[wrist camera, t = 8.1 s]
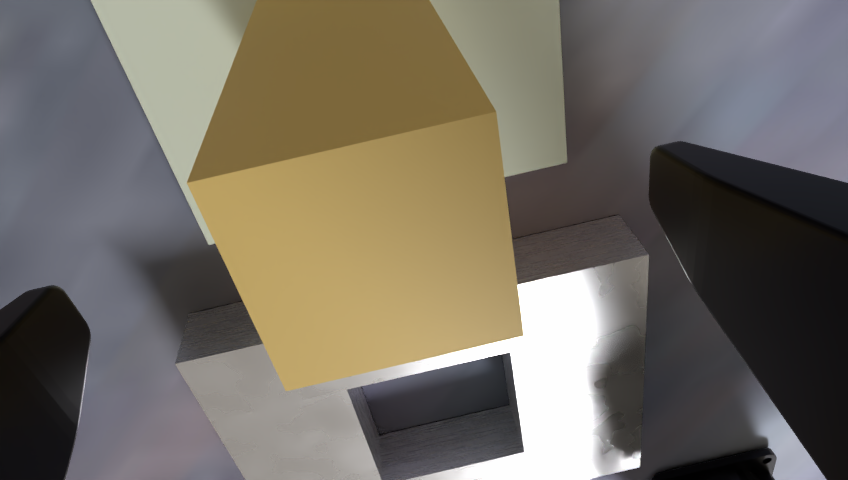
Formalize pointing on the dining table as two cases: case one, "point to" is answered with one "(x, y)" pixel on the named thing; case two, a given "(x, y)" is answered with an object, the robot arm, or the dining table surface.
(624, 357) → the square hole plate
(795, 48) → the dining table surface
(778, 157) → the dining table surface
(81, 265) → the dining table surface
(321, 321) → the peg
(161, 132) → the pad
